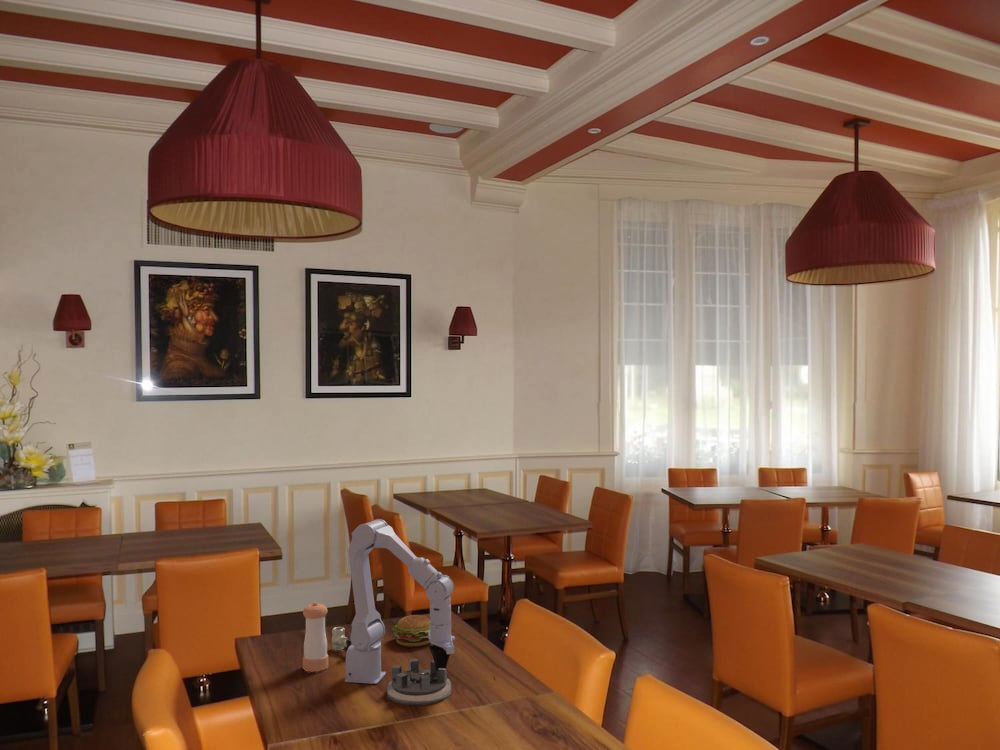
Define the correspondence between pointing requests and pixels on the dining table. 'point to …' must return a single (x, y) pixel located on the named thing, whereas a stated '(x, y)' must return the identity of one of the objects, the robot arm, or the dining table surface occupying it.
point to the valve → (340, 639)
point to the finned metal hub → (418, 679)
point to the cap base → (418, 696)
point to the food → (412, 631)
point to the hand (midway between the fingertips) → (440, 672)
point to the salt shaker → (315, 638)
